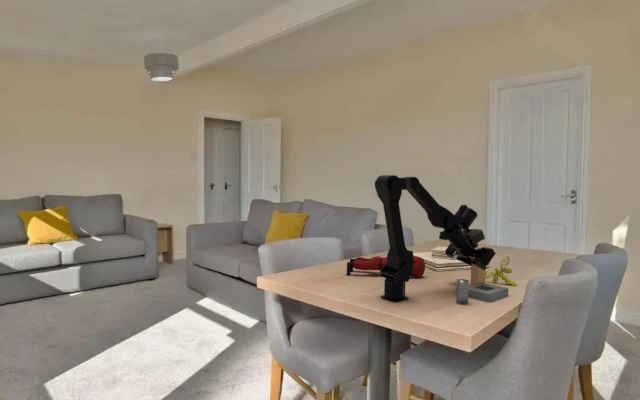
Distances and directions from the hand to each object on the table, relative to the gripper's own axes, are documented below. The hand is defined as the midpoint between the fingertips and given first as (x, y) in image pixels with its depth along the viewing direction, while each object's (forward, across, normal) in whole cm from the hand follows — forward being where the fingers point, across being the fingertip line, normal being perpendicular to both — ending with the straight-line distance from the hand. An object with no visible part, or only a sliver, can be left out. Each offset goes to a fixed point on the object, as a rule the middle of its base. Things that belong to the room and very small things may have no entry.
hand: (481, 268), depth 153 cm
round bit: (-10, -12, +19) cm, 25 cm away
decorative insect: (+12, +1, -2) cm, 12 cm away
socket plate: (-1, -9, +10) cm, 14 cm away
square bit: (+4, 0, +6) cm, 7 cm away
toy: (-10, +29, +20) cm, 36 cm away
